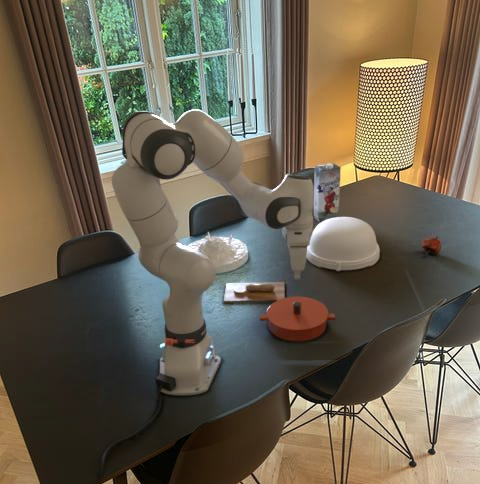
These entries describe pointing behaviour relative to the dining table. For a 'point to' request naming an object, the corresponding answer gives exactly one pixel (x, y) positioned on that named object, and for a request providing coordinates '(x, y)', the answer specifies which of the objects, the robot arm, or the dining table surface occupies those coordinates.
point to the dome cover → (343, 244)
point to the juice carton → (326, 191)
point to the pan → (297, 334)
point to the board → (254, 293)
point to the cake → (222, 252)
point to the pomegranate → (431, 246)
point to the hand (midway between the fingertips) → (296, 271)
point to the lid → (297, 313)
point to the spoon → (253, 288)
